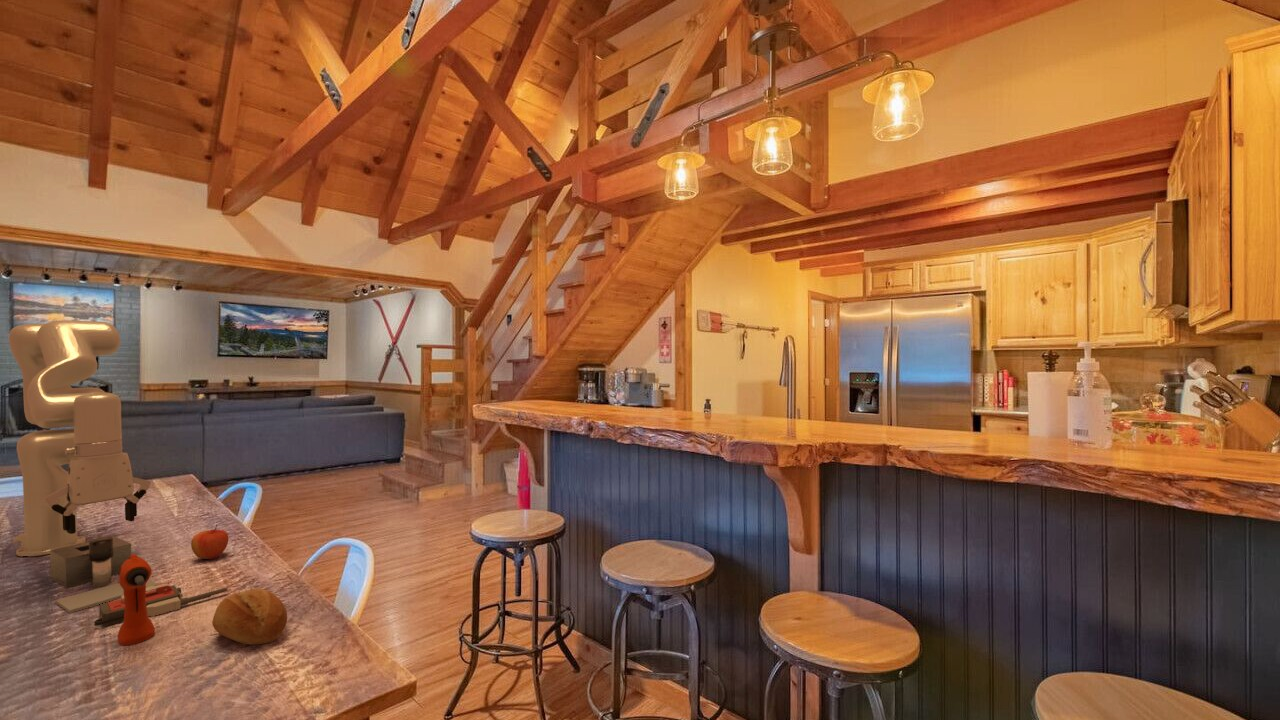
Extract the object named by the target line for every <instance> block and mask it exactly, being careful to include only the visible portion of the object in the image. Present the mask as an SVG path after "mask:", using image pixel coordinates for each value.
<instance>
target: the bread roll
mask: <svg viewBox="0 0 1280 720" xmlns="http://www.w3.org/2000/svg"><path fill="white" fill-rule="evenodd" d="M287 622H288V612H287V609H286V606H285V605H284V603H283V602H282V600H281V599H280V598H279V596H278V595H275V594H274V593H273V592H271V591H269V590H267V589H263V588H257V589H256V588H255V589H247V590H246V589H245V590H244V591H240V592H237V593H236V592H235V593H232V594H230V595H229V596H227V597H224V598H222V600H221V602H219V604H218V606H217V607H216V610H215V612H214V615H213V617H212V627H213V628H214V630H215V631H216V633H218V634H219V635H221V636H222V637H224V638H227V639H230V640H233V641H234V642H238V643H240V644H245V645H246V644H247V645H263V644H268V643H271V642H273V641H276V640H277V639H279V638H280V637H281V636H282V633H283V632H284V630H285V629H286V626H287Z"/></svg>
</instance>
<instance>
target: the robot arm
mask: <svg viewBox="0 0 1280 720" xmlns="http://www.w3.org/2000/svg"><path fill="white" fill-rule="evenodd" d="M8 343H9V344H8V345H9V348H10V351H11V353H12V355H13V357H14V359H15V361H16V363H17V364H18V366H19V368H20V371H21V374H22V386H23V387H22V389H23V392H22V394H23V411H24V416H25V419H26V421H27V422H28V423H30V424H31V425H35V426H38V427H40V428H42V429H44V430H37V431H32V432H29V433H26V434H25V435H23V436H22V437H20V438H19V440H18V441H17V444H16V453H17V457H18V461H19V465H20V469H21V475H22V477H21V478H22V491H23V492H22V493H23V522H24V523H23V524H24V525H23V527H24V530H23V531H24V532H22V533H19V534H18V535H17V536H16V537H13V538H12V543H14V544H16V543H17V544H19V543H20V547H19V548H17V549H16V550H15V555H16V556H17V557H23V556H28V557H37V556H45V555H46V556H47V555H50V550H53V549H58V548H62V547H67V546H71V545H76V544H80V543H85V542H87V541H86V537H85V536H79V535H78V522H77V521H78V519H77V515H78V513H77V509H78V507H79V506H84V505H91V504H97V503H98V504H99V503H103V502H107V501H108V502H109V501H112V500H119V499H124V500H125V501H126V502H125V504H124V518H125V521H128V522H134V521H135V517H137V515H138V511H137V509H138V507H137V506H138V505H137V504H138V503H139V501H140V500H141V498H143V497H144V496H145V495H146V494H147V491H148V490H149V488H150V486H151V484H152V481H151V480H146V479H142V478H140V477H134V475H133V471H132V465H131V461H130V457H129V455H128V452H123V434H122V430H123V429H122V402H121V399H120V396H119V395H117V394H114V393H111V392H105V390H103V389H102V388H99V387H90V386H89V387H72V386H71V385H75V384H77V383H80V382H82V381H84V380H87V379H88V378H90V377H92V376H93V375H94V374H95V373H96V372H97V370H98V361H97V359H96V357H99V356H109V355H112V354H114V353H116V352H118V350H119V347H120V344H121V337H120V333H119V331H118V329H117V328H116V327H115V326H114V325H113V324H112V323H110V322H107V321H97V320H95V321H94V320H93V321H91V320H90V321H89V320H54V321H53V320H52V321H49V322H46V323H26V324H25V323H24V324H20V325H16V326H13V328H12V329H11V330H10V331H9V334H8ZM45 429H46V430H45ZM64 465H68V470H65V469H64V468H63V467H62V466H64ZM134 484H137V485H139V489H138V490H136V491H135V492H134V486H135V485H134Z"/></svg>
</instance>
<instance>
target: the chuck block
mask: <svg viewBox="0 0 1280 720" xmlns="http://www.w3.org/2000/svg"><path fill="white" fill-rule="evenodd" d="M111 537H112V538H113V557H111V577H113V575H114V576H117V574H118V575H120V568H121V566H122V564H123V563H124V562H125V561H126V560H127V559H129V558H130V555H132V543H131V542H128V541H126V540H124V539H121V538H119V537H116V536H115V535H113V536H111ZM90 541H91V540H89V541H85V543H80V544H76V545H71V546H67V547H62V548H58V549H53V550H50V554H49V564H50V579H51V580H53V581H54V582H56V583H58V584H59V585H60V586H62V587H63V588H65V589H68V588H72V587H76V586H80V585H84V584H87V583H91V582H92V583H93V575H92V561H90V560H89V542H90Z"/></svg>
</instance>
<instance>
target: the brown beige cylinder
mask: <svg viewBox="0 0 1280 720" xmlns="http://www.w3.org/2000/svg"><path fill="white" fill-rule="evenodd" d="M89 541H90V542H89ZM89 541H88V542H89V560H90V561H92V575H93V581H92V587H93V588H94V589H98V588H102V587H105V586H109V585H112V584H113V583H112V581H113V580H112V578H113V576H111V557H113V538H112V536H109V537H108V536H107V537H106V536H105V537H100V538H96V539H92V540H89Z"/></svg>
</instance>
